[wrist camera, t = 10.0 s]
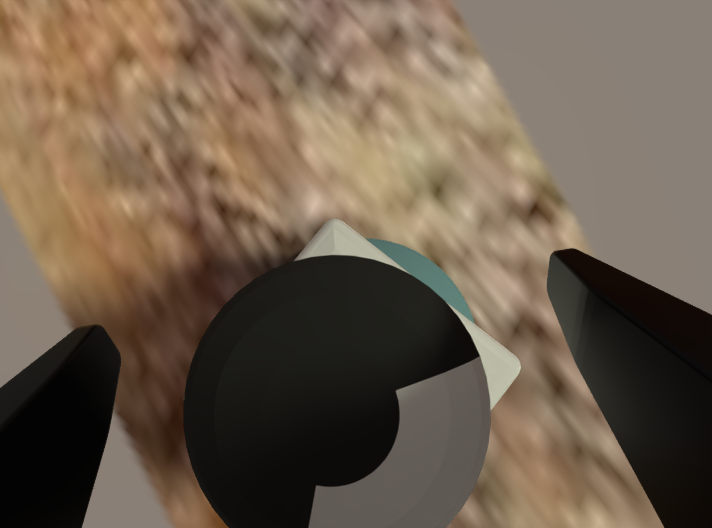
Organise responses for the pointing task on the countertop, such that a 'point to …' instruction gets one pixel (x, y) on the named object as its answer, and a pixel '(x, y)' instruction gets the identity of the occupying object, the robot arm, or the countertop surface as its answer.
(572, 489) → the countertop surface
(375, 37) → the countertop surface
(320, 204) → the countertop surface
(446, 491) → the medicine bottle
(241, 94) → the countertop surface
